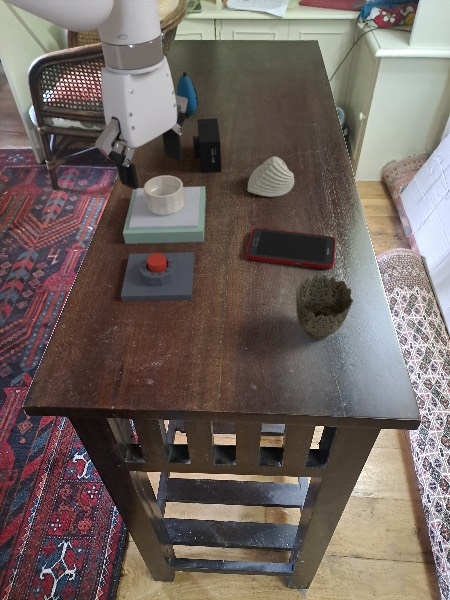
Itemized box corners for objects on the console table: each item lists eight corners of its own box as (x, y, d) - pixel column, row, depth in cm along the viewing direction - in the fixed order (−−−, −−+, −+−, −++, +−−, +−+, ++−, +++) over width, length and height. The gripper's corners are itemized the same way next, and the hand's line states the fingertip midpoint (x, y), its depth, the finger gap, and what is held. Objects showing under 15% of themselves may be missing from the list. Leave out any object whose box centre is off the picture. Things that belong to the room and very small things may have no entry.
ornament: (203, 118, 114) (200, 76, 106) (185, 121, 112) (181, 79, 105) (191, 105, 119) (188, 64, 112) (175, 108, 118) (170, 67, 110)
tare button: (147, 273, 72) (145, 265, 71) (149, 260, 74) (147, 253, 73) (166, 272, 72) (165, 265, 71) (167, 260, 74) (166, 252, 73)
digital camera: (194, 149, 104) (191, 119, 98) (218, 147, 104) (217, 117, 99) (195, 173, 96) (193, 142, 91) (221, 171, 97) (220, 140, 91)
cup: (290, 312, 69) (295, 273, 63) (340, 313, 68) (349, 274, 63) (292, 351, 64) (297, 314, 58) (346, 353, 63) (356, 315, 58)
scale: (125, 244, 81) (122, 230, 79) (135, 198, 91) (132, 185, 89) (204, 242, 81) (202, 228, 79) (205, 196, 90) (205, 183, 88)
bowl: (145, 217, 81) (141, 197, 78) (149, 195, 86) (146, 175, 83) (183, 216, 81) (181, 196, 78) (185, 194, 86) (183, 174, 83)
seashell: (308, 179, 89) (285, 175, 83) (279, 208, 94) (256, 206, 88) (287, 148, 92) (264, 142, 86) (260, 178, 97) (236, 174, 91)
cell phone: (252, 231, 82) (252, 227, 82) (335, 241, 80) (336, 236, 79) (244, 259, 77) (244, 255, 76) (332, 270, 75) (333, 266, 74)
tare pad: (121, 301, 71) (118, 287, 69) (130, 258, 78) (127, 245, 76) (192, 299, 71) (190, 286, 69) (194, 257, 78) (193, 243, 76)
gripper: (158, 27, 64) (172, 142, 77) (59, 67, 55) (93, 189, 67) (199, 37, 61) (207, 155, 73) (102, 80, 52) (129, 206, 64)
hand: (152, 171), depth 70 cm, fingers open, 9 cm apart
